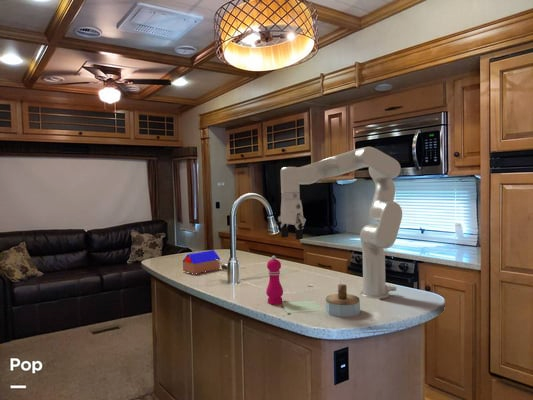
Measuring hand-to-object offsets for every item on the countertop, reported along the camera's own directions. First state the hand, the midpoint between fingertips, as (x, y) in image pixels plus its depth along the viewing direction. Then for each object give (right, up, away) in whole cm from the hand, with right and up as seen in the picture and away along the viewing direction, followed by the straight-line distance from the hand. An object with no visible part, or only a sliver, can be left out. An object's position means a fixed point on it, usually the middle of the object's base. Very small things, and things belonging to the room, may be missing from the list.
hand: (292, 238), depth 161 cm
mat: (+4, -28, -3) cm, 28 cm away
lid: (+19, -23, -12) cm, 32 cm away
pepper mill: (-7, -28, +5) cm, 29 cm away
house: (-50, -28, +77) cm, 96 cm away
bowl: (+19, -28, -12) cm, 35 cm away
